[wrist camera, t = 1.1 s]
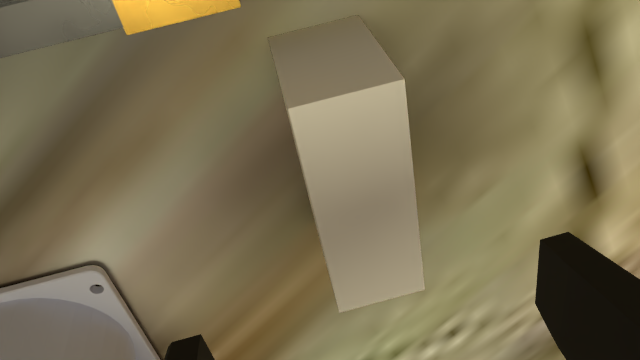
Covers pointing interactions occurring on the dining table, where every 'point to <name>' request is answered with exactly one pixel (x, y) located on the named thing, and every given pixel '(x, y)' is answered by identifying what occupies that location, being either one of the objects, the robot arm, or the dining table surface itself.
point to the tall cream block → (353, 157)
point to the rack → (91, 19)
